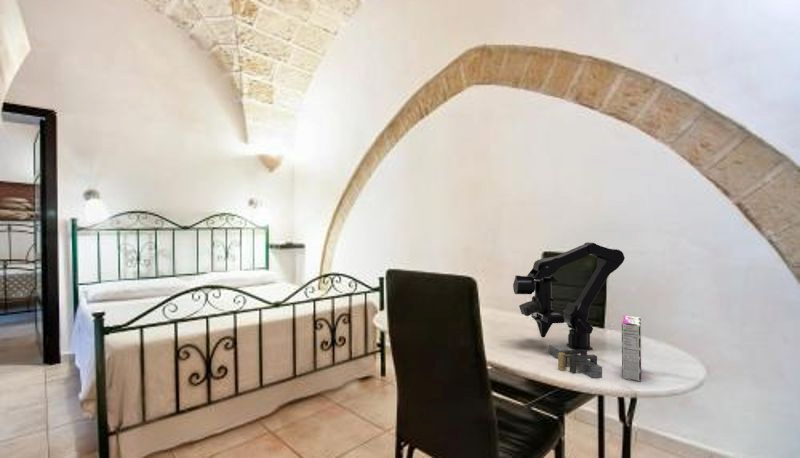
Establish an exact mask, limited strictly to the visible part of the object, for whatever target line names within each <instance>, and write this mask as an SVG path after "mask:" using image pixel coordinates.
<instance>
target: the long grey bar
mask: <svg viewBox="0 0 800 458" xmlns="http://www.w3.org/2000/svg"><path fill="white" fill-rule="evenodd" d="M548 349H549V355H550V356H552V357H554V358H556V359H557V360H558V353H561V350H569V349H567V348H566V347H563V346H562V345H560V344H559V343H558V344H549V348H548ZM567 355H571V356H572V355H579V354H567ZM567 366H570V358H567ZM576 371H579V372H580V373H582V374H583V375H586V376H587V377H589V378H591V379H601V378H602V379H603V366H602V365H599V364H598V363H597V364H596V363H594V362H592V361H590V359H582V360H576Z"/></svg>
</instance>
